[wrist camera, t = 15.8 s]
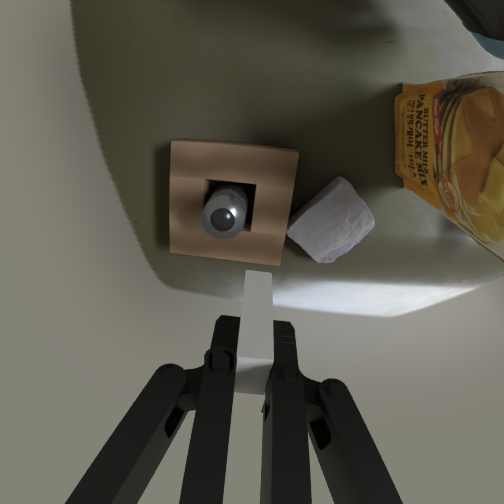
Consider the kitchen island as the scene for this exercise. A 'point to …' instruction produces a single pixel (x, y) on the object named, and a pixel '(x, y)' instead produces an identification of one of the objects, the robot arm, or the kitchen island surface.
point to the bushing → (226, 210)
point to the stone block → (331, 222)
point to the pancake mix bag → (456, 151)
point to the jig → (236, 170)
